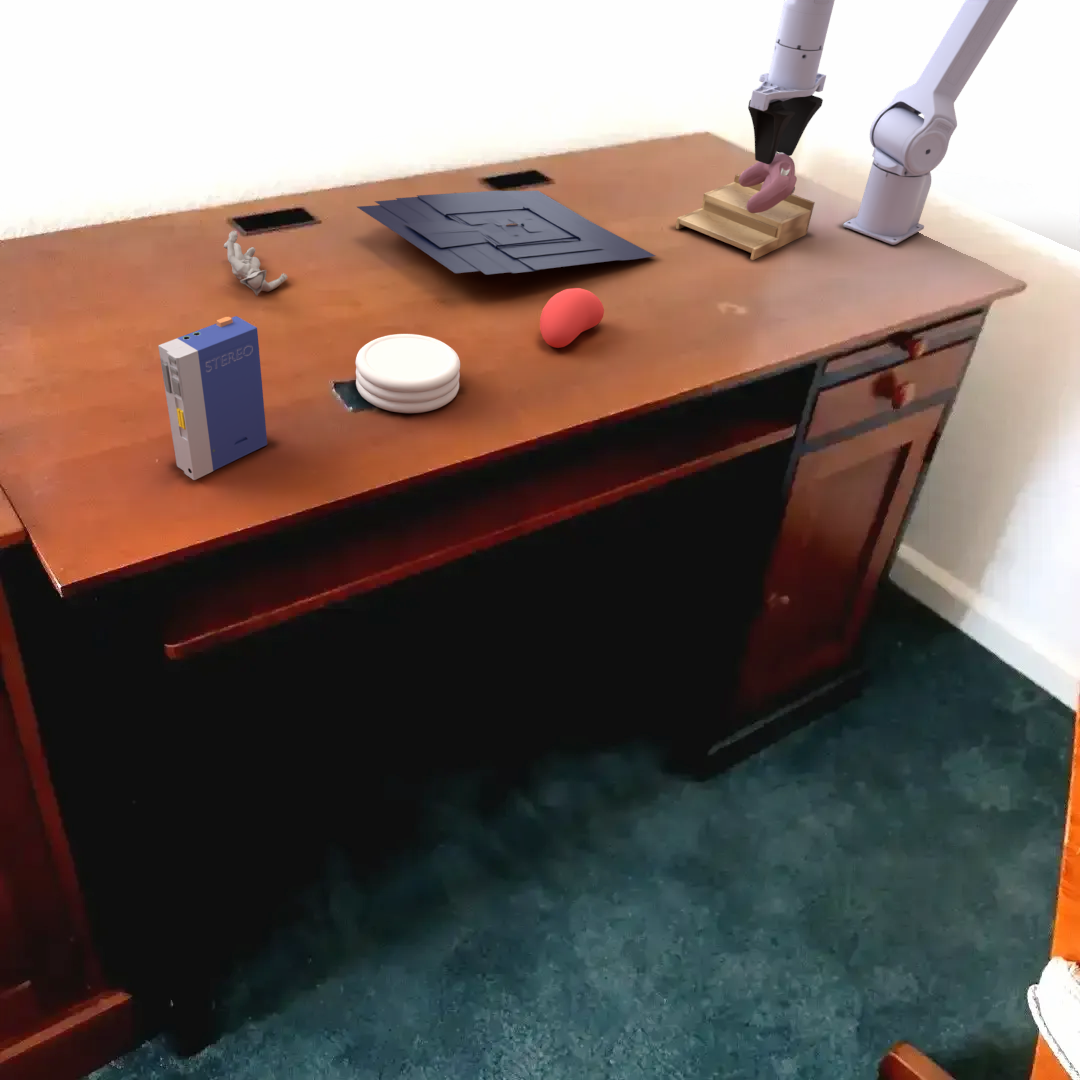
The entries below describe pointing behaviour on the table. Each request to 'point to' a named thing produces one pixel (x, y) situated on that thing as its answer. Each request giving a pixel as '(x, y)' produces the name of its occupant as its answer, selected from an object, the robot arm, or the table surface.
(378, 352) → the coaster
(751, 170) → the video game controller
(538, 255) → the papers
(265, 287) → the soldier figure
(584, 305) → the red kidney bean
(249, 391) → the walkman
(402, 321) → the table surface
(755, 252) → the step shelf
